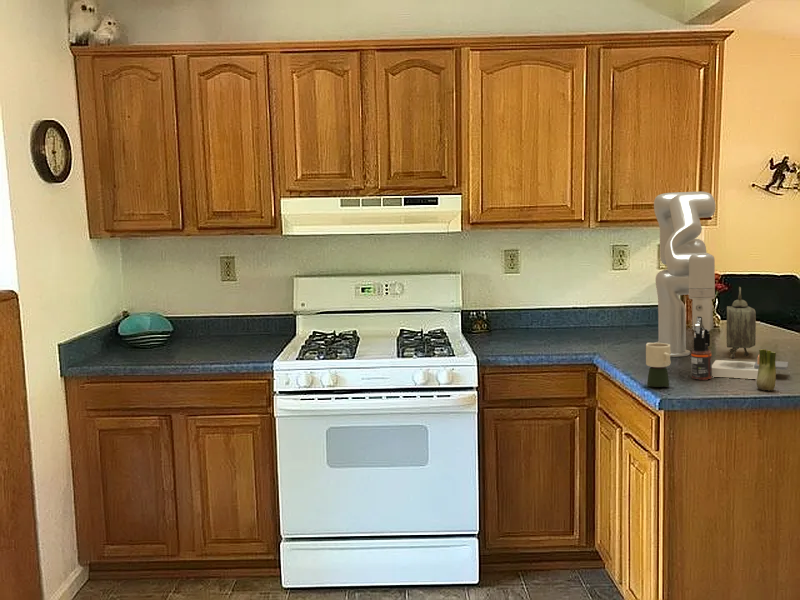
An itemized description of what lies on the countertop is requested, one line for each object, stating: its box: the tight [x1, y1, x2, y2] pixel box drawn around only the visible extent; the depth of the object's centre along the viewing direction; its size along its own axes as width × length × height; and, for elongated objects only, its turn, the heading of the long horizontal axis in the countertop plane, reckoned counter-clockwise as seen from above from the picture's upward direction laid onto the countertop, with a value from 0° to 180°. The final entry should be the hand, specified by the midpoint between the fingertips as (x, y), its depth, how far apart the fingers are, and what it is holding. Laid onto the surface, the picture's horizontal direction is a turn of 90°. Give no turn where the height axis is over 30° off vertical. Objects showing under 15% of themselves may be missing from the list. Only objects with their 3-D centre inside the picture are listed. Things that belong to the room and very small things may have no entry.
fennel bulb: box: [756, 348, 777, 391], centre depth 217 cm, size 6×5×12 cm
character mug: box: [645, 342, 672, 388], centre depth 226 cm, size 11×7×13 cm, turn 15°
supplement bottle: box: [690, 343, 713, 381], centre depth 235 cm, size 6×6×11 cm
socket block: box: [712, 359, 759, 379], centre depth 239 cm, size 16×14×3 cm
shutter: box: [754, 354, 789, 371], centre depth 234 cm, size 9×9×3 cm
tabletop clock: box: [726, 286, 757, 359], centre depth 267 cm, size 14×9×25 cm, turn 158°
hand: (702, 348), depth 234 cm, fingers open, 9 cm apart
